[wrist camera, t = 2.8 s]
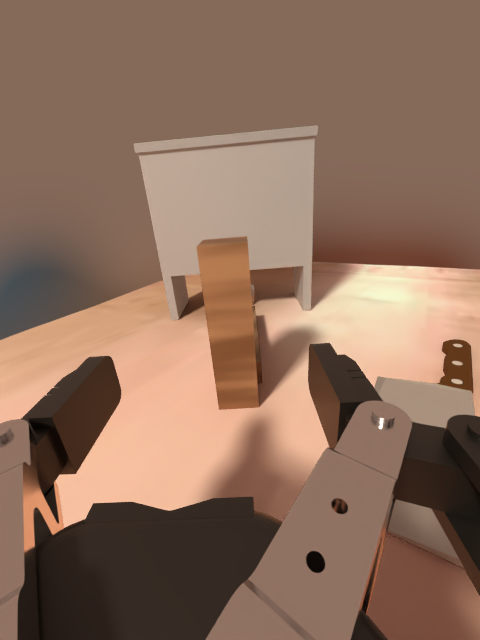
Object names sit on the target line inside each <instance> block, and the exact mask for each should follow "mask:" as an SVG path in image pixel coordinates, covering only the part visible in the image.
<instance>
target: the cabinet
mask: <svg viewBox="0 0 480 640" xmlns="http://www.w3.org/2000/svg"><path fill="white" fill-rule="evenodd" d="M317 135H318V126H307V127H297V128H287V129H276V130H267V131H256V132H247V133H237V134H226V135H217V136H206V137H196V138H186V139H176V140H165V141H156V142H146V143H136V144H134V149H135V153H137V154H139V158H140V163H141V168H142V174H143V179H144V183H145V189H146V194H147V199H148V204H149V209H150V214H151V219H152V224H153V229H154V235H155V240H156V245H157V250H158V255H159V260H160V265H161V270H162V275H163V281H164V286H165V291H166V296H167V301H168V306H169V311H170V316H171V320H179V318H180V316H181V314H182V312H183V310H184V309H185V307H186V305H187V303H188V301H189V299H188V293H187V287H186V281H185V275H195V274H200V270H199V262H198V255H197V248H196V247H197V246H198V245H199V244H200V242H201V241H202V240H207V239H219V238H231V237H243V236H247V240H248V253H249V267H250V270H258V269H271V268H283V267H293V283H294V294H295V296H296V298H297V300H298V302H299V304H300V305H301V307H302V309H303V310H311V285H312V236H313V234H312V232H313V185H314V183H313V182H314V138H315V137H316V136H317Z"/></svg>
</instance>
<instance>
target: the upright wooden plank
mask: <svg viewBox="0 0 480 640" xmlns="http://www.w3.org/2000/svg"><path fill="white" fill-rule="evenodd" d="M196 248H197V255H198V262H199V270H200V277H201V284H202V291H203V298H204V305H205V312H206V319H207V326H208V333H209V341H210V348H211V355H212V362H213V369H214V376H215V383H216V390H217V397H218V404H219V409H236V408H253V407H259V398H258V384H257V383H262V370H261V357H260V348H259V340H258V331H257V322H256V313H255V306H252V296H251V282H250V267H249V253H248V240H247V236H243V237H231V238H219V239H207V240H202V241H201V242H200V244H199V245H198V246H197V247H196Z"/></svg>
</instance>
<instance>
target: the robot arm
mask: <svg viewBox="0 0 480 640" xmlns="http://www.w3.org/2000/svg"><path fill="white" fill-rule="evenodd" d="M308 382H309V389H310V393H311V396H312V399H313V402H314V405H315V408H316V410H317V413H318V416H319V419H320V422H321V424H322V427H323V430H324V433H325V436H326V438H327V441H328V444H329V447H330V448H327V449H326V450H325V451H324V452H323V454H322V456H321V457H320V459H319V461H318V463H317V464H316V466H315V468H314V469H313V471H312V473H311V475H310V476H309V478H308V480H307V481H306V483H305V485H304V487H303V488H302V490H301V492H300V494H299V495H298V497H297V499H296V500H295V502H294V504H293V506H292V507H291V509H290V511H289V512H288V514H287V516H286V518H285V519H284V521H283V523H282V522H281V521H279V520H277V519H275V518H273V517H271V516H269V515H266V514H264V513H261V512H257V511H254V502H253V497H236V498H213V499H210V500H206V501H203V502H200V503H196V504H193V505H190V506H186V507H183V508H179V509H176V510H172V511H167V510H162V509H158V508H154V507H150V506H146V505H142V504H138V503H134V502H117V503H94V504H93V505H92V507H91V509H90V511H89V513H88V515H87V517H86V519H85V520H82V521H79V522H77V523H74V524H72V525H70V526H68V527H66V528H64V524H63V517H62V510H61V504H60V497H59V490H58V486H57V484H56V481H55V480H56V479H57V477H58V476H59V475H60V474H76V472H77V471H78V469H79V468H80V466H81V464H82V463H83V461H84V459H85V458H86V456H87V455H88V453H89V451H90V450H91V448H92V446H93V445H94V443H95V442H96V440H97V438H98V437H99V435H100V433H101V432H102V430H103V428H104V427H105V425H106V424H107V422H108V420H109V419H110V417H111V415H112V414H113V412H114V411H115V409H116V407H117V406H118V404H119V402H120V399H121V387H120V384H119V380H118V377H117V373H116V370H115V366H114V363H113V360H112V358H111V357H110V356H99V357H89V358H87V359H86V360H85V361H84V362H83V363H82V364H81V365H80V366H79V367H78V368H77V369H76V370H75V371H73V372H72V373H70V374H68V375H67V376H65V377H64V378H62V379H61V380H60V381H59V382H58V383H57V384H56V385H55V386H54V388H52V389H51V390H50V391H49V392H48V393H47V396H44V397H43V398H42V399H41V400H40V401H39V402H38V403H37V404H36V405H35V406H34V407H33V408H32V409H31V410H30V411H29V412H28V413H27V414H26V415H25V416H24V417H23V418H22V419H17V420H10V421H7V422H4V423H1V424H0V640H388V639H387V638H386V637H385V636H384V634H383V633H382V632H381V631H380V630H379V629H378V627H377V626H376V625H375V624H374V623H373V621H372V620H371V619H370V618H369V617H368V616H367V612H368V608H369V605H370V601H371V597H372V593H373V589H374V585H375V581H376V577H377V572H378V568H379V564H380V560H381V556H382V552H383V548H384V544H385V541H386V537H387V533H388V529H389V525H390V522H391V518H392V514H393V510H394V506H395V503H396V500H400V501H404V502H408V503H412V504H415V505H419V506H423V507H427V508H431V509H432V511H433V512H434V514H435V516H436V518H437V520H438V521H439V523H440V525H441V527H442V529H443V530H444V532H445V534H446V536H447V538H448V539H449V541H450V543H451V545H452V547H453V548H454V550H455V552H456V554H457V556H458V557H459V559H460V561H461V563H462V565H463V566H464V568H465V570H466V572H467V574H468V576H469V577H470V579H471V581H472V583H473V585H474V586H475V588H476V590H477V592H478V594H479V595H480V417H477V416H473V415H455V416H453V417H451V418H450V419H449V420H448V422H447V425H446V428H443V427H437V426H431V425H425V424H420V423H416V422H412V421H411V419H410V417H409V416H408V415H407V414H406V413H405V412H404V411H403V410H402V409H400V408H399V407H397V406H395V405H393V404H390V403H387V402H384V401H383V400H382V398H381V397H380V396H379V394H378V393H377V391H376V390H375V389H374V387H373V386H372V384H371V383H370V382H369V380H368V379H367V378H366V376H365V375H364V373H363V372H362V371H361V369H360V367H359V366H358V365H357V363H356V362H355V361H354V360H352V359H351V358H349V357H348V356H346V355H337V354H336V352H335V350H334V349H333V347H332V346H331V344H330V343H321V344H310V346H309V370H308Z"/></svg>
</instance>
